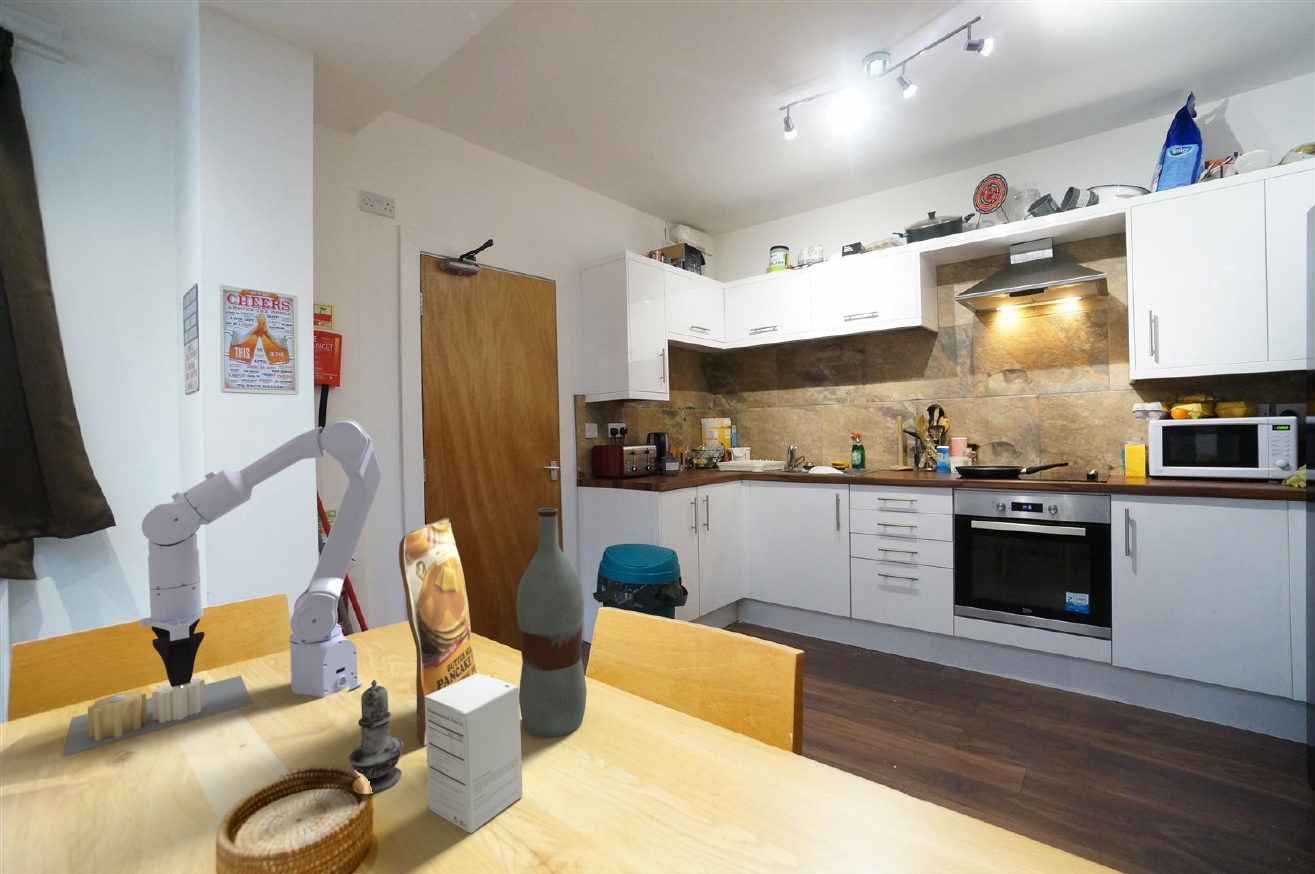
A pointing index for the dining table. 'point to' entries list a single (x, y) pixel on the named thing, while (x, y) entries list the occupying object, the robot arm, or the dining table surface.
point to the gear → (178, 700)
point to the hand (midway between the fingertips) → (179, 676)
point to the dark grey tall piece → (377, 742)
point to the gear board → (144, 715)
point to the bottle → (551, 638)
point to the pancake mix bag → (436, 611)
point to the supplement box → (473, 750)
